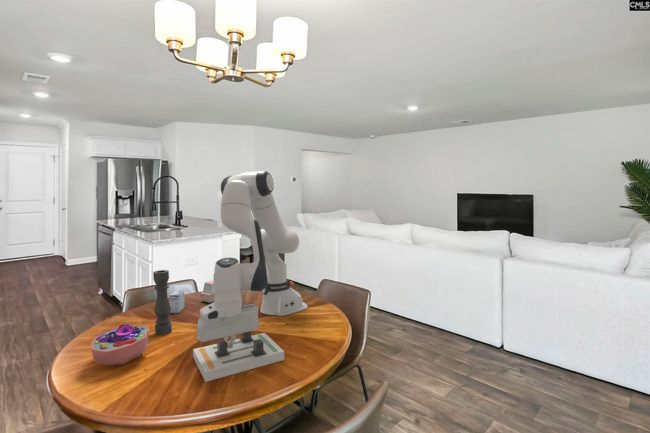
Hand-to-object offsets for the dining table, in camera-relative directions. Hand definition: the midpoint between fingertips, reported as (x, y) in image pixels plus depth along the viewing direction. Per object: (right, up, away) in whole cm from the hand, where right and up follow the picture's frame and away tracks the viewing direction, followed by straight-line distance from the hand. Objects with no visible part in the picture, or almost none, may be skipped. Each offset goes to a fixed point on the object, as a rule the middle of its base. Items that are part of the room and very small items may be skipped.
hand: (229, 347), depth 118 cm
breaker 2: (+10, -2, -1) cm, 10 cm away
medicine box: (-39, -1, +51) cm, 64 cm away
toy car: (-25, 0, +67) cm, 71 cm away
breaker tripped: (-2, -2, -1) cm, 3 cm away
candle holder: (-34, -3, +25) cm, 42 cm away
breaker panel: (+2, -5, +2) cm, 6 cm away
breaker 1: (+4, -1, +9) cm, 10 cm away
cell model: (-37, -5, +2) cm, 37 cm away
